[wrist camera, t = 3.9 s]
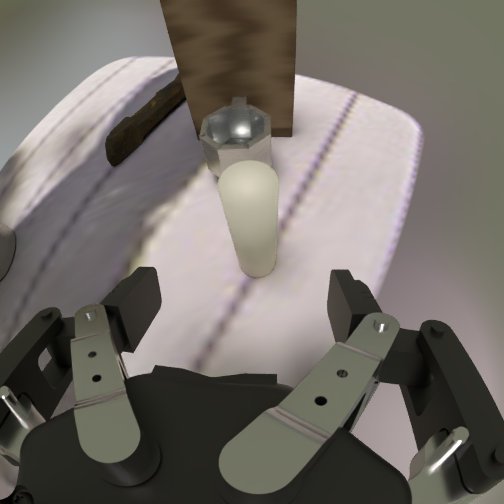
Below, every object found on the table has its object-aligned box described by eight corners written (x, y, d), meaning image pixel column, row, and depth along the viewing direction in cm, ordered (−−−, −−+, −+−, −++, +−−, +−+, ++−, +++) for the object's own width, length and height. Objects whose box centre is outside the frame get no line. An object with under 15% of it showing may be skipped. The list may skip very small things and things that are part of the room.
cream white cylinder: (238, 277, 26) (214, 209, 15) (239, 243, 27) (220, 161, 16) (275, 277, 26) (279, 208, 15) (275, 243, 27) (278, 160, 16)
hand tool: (183, 87, 40) (177, 66, 36) (201, 90, 39) (196, 68, 35) (103, 163, 34) (89, 142, 30) (119, 171, 33) (104, 149, 29)
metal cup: (206, 183, 28) (195, 151, 24) (215, 127, 32) (209, 95, 27) (271, 182, 28) (271, 148, 23) (270, 125, 31) (269, 92, 27)
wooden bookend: (198, 139, 34) (159, -1, 15) (204, 112, 36) (176, -13, 18) (291, 136, 33) (296, -14, 14) (289, 109, 35) (290, -23, 17)
